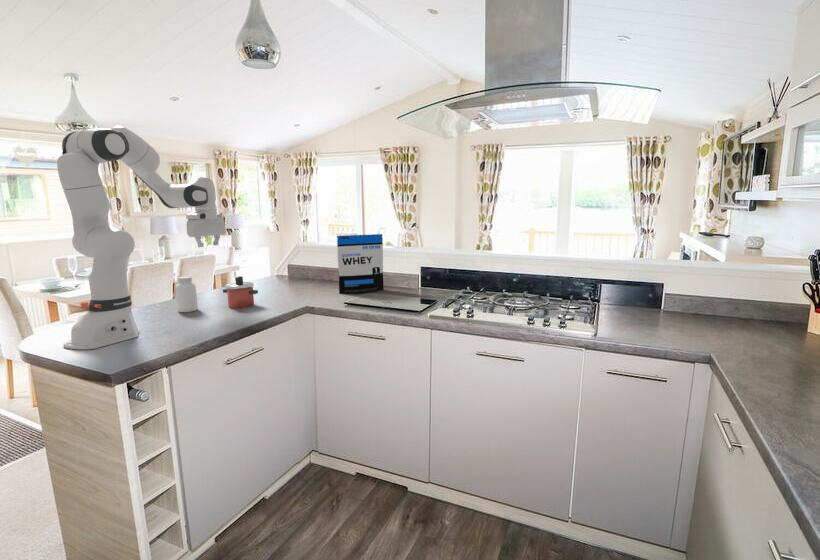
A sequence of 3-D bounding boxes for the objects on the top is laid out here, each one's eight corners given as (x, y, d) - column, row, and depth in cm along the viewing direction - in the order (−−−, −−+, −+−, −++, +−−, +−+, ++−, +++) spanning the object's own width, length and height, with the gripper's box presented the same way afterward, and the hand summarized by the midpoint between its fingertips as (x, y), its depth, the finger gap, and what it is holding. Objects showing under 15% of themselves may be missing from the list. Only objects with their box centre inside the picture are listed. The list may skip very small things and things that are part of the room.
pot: (250, 309, 192) (248, 289, 190) (217, 307, 196) (216, 288, 195) (264, 304, 202) (263, 285, 201) (233, 302, 207) (232, 283, 205)
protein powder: (337, 292, 228) (334, 235, 222) (380, 288, 237) (379, 233, 232) (341, 295, 219) (339, 236, 214) (386, 291, 228) (385, 234, 223)
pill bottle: (201, 308, 195) (198, 275, 192) (191, 312, 187) (187, 278, 185) (185, 308, 196) (181, 275, 193) (173, 312, 188) (170, 278, 185)
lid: (242, 289, 190) (242, 279, 190) (219, 288, 193) (218, 278, 193) (258, 284, 202) (258, 275, 201) (236, 283, 205) (235, 274, 204)
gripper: (216, 214, 202) (218, 244, 204) (182, 215, 183) (185, 247, 185) (228, 214, 200) (230, 244, 203) (195, 215, 181) (197, 248, 183)
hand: (208, 246), depth 194 cm, fingers open, 8 cm apart
